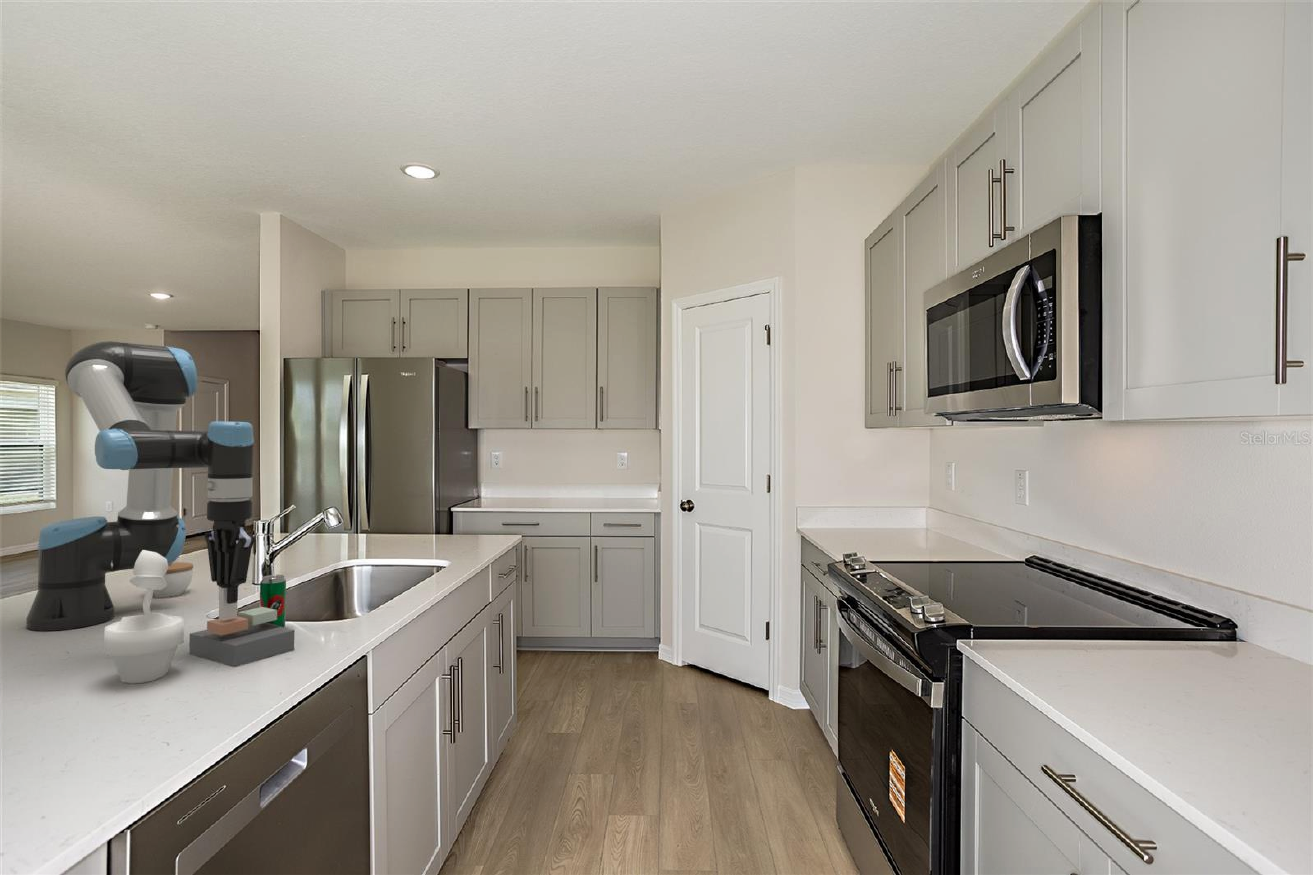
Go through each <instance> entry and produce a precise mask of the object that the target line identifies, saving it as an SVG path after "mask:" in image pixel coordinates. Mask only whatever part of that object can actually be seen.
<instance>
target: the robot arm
mask: <svg viewBox="0 0 1313 875" xmlns="http://www.w3.org/2000/svg"><path fill="white" fill-rule="evenodd" d="M197 373H198V372H197V367H196V365H195V361H194V359H193V357H192V355H191V354H190V353H189V352H188V351H186V350H185V349H183V348H177V347H172V346H167V345H164V346H163V345H156V344H155V345H153V344H141V343H131V342H130V343H128V342H119V341H99V342H96V343H92V344H90V345H89V344H88V345H87V346H85V347H82V348H81V349H80V350H78V351H77V352H75V353H74V354H73V355H71V358H69V360H68V361H67V363H66V366H65V368H64V378H65V381H66V384H67V386H68V387H69V389H70V390H71V391H72V393H73V394H75V395H76V396H78V397H80V398H81V399H82V401H83V403H84V405H85V406H86V409H87V410H88V412H89V414H90V416H91V418H92V419H93V421H94V424H95V426H96V427H97V429H98V431H99V432H98V433H97V435H96V437H95V441H94V456H95V460H96V464H97V465H98V467H99V468H101V469H104V470H121V471H128V478H127V479H128V480H127V490H126V492H127V493H126V506H125V507H123V509H121V510H120V511H118V512H117V520H116V521H108V520H107V518H106V517H105V516H98V515H97V516H89V517H87V516H86V517H79V518H71V519H66V520H62V521H57V522H53V523H50V524H47V525H45V526H44V527H42V528H41V530H40V531H39V538H38V544H37V548H36V549H37V550H38V566H37V568H38V569H37V571H38V572H37V574H38V576H37V593H36V596H35V598H34V600H33V602H32V605H31V607H30V608H29V611H28V613H27V617H26V629H28V630H32V631H39V632H40V631H43V632H44V631H45V632H46V631H63V630H64V631H65V630H72V629H79V628H85V627H90V626H94V625H98V624H102V623H105V622H108V621H110V620H112V619H113V618H114V617H115V606H114V603H113V600H112V598H111V596H110V594H109V591H108V588H107V586H106V574H107V573H108V572H116V571H117V572H118V571H127V570H133V569H134V565H135V562H136V560H137V558H138V556H139V555H140V553H141V552H142V550H146V551H151V552H156V553H158V554H160V555H161V556H163V557H164V558H166V559H167V562H168V564H171V563H174V562H175V561H177V560H178V559H179V557H180V556H181V554H182V552H183V549H184V547H185V543H186V542H185V541H186V534H187V532H186V531H185V530H186V523H185V521H184V519H182V518H181V517H178V511H177V510H176V509H174V508H173V507H172V505H171V503H172V502H171V500H172V489H173V488H172V487H173V473H174V469H195V468H196V469H197V468H198V469H199V468H200V469H201V468H203V469H205V468H207V484H206V488H207V498H208V499H211V500H209V501H208V502H207V504H206V519H207V520H208V521H211V522H213V524H212V530H211V532H205V533H204V539H205V542H206V546H207V554H208V563H209V571H210V579H211V582H213V583H215V582H216V586H217V587H218V619H219V620H220V621H226V620H231V619H235V618H237V617H238V601H239V598H238V597H239V586H241V585H242V584H246V583H247V579H248V572H249V566H250V561H251V554H252V548H253V546H254V544H255V541H256V537H255V536H254V535H252V536H249V535H248V534H247V533H248V532H247V531H248V529H247V528H248V527H247V525H246V521H247V520H250V519H251V518H252V516H253V501H252V500H251V499H250V498H252V497H253V490H254V487H253V485H254V484H253V483H254V482H253V469H254V468H253V466H254V465H253V464H254V463H253V462H254V443H255V438H254V427H253V425H252V423H251V422H247V421H223V420H221V421H219V420H218V421H217V420H216V421H212V422H210V423H209V425H208V430H177V422H178V412H179V410H180V409H181V408H183V407H184V406H186V403H187V401H186V400H187V398H190V397H193V396H194V395H196V392H197V391H196V390H197V388H198V374H197ZM123 553H124V554H123ZM111 563H112V564H113V566H111Z"/></svg>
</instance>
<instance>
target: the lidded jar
mask: <svg viewBox="0 0 1313 875" xmlns="http://www.w3.org/2000/svg"><path fill="white" fill-rule="evenodd" d="M168 567H169V568H168V570H167V572H166V573H165V575H164V577H163V578H164V579H165V581H166V583H167V586H166V587H165V588H163V589H162V590H153V595H152V596H154V597H155V598H171V597H170V596H173V597H175V596H174V595H178V596H181V595H183V592H184V591H185V590H187V589H188V588H189V586H190V584H191V582H192V578H193V572H194V571H193V568H194V564H193V563H192V562H184V561H183V562H181V561H179V562H178V561H177V562H175V561H174V562H173V563H171V564H168ZM185 592H186V591H185ZM180 594H181V595H180Z"/></svg>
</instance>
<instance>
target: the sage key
mask: <svg viewBox="0 0 1313 875" xmlns="http://www.w3.org/2000/svg"><path fill="white" fill-rule="evenodd" d="M237 617H242V618H246V619H248V624H249V625H257V624H261V623H266V622H270V621H274V620H277V610H274V609H270V608H265V607H260V606H259V607H256V608H252V609H247V610H242V611H237Z"/></svg>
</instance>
